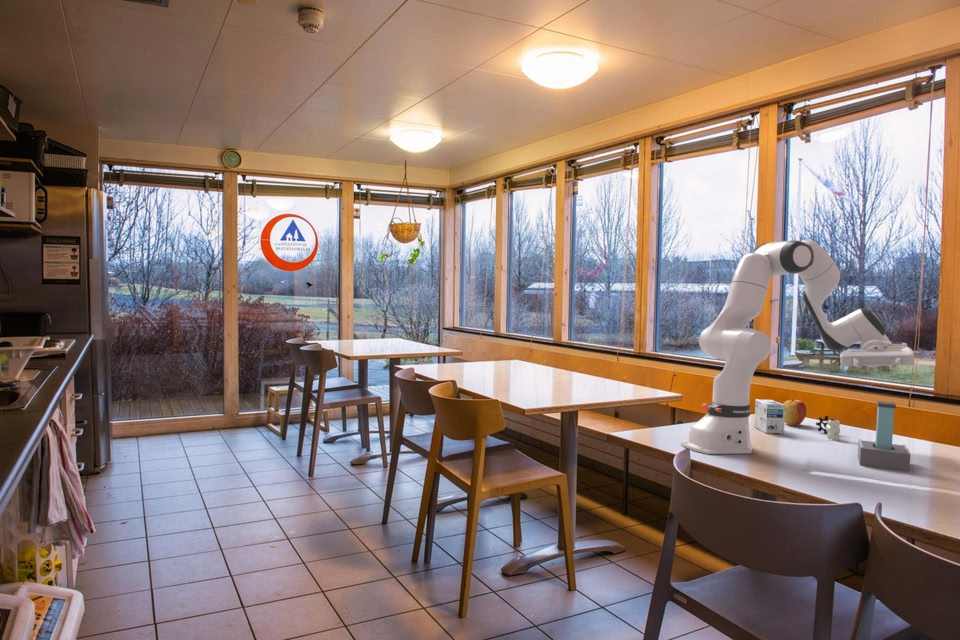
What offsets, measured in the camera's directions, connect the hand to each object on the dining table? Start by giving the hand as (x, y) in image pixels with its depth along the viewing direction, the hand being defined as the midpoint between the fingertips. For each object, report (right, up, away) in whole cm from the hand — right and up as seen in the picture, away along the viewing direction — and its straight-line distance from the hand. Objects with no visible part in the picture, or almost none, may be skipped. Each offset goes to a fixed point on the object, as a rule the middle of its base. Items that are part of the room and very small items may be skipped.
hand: (876, 365), depth 200 cm
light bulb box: (-18, -27, +35) cm, 48 cm away
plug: (-5, -28, -11) cm, 31 cm away
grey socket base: (-5, -29, -11) cm, 32 cm away
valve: (+1, -28, +28) cm, 40 cm away
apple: (-3, -27, +47) cm, 54 cm away
